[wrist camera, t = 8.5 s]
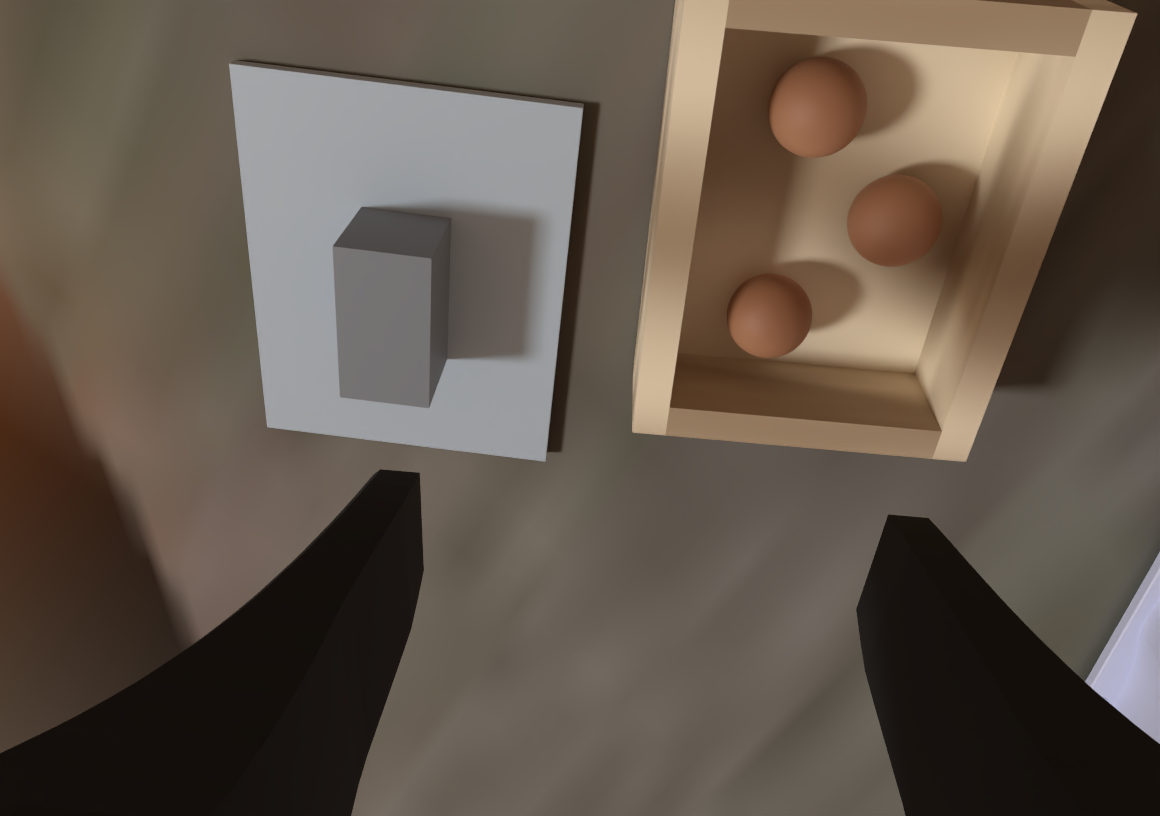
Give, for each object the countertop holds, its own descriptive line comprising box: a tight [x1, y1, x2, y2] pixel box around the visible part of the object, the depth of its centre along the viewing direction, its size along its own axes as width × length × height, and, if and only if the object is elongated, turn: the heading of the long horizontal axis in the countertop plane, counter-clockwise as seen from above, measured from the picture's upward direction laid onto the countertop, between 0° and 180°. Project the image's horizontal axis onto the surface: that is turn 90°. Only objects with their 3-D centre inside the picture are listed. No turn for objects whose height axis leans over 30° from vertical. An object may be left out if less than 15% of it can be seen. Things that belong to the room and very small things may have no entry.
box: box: [632, 0, 1138, 462], centre depth 20 cm, size 10×8×3 cm
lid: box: [229, 60, 584, 461], centre depth 22 cm, size 10×8×3 cm
